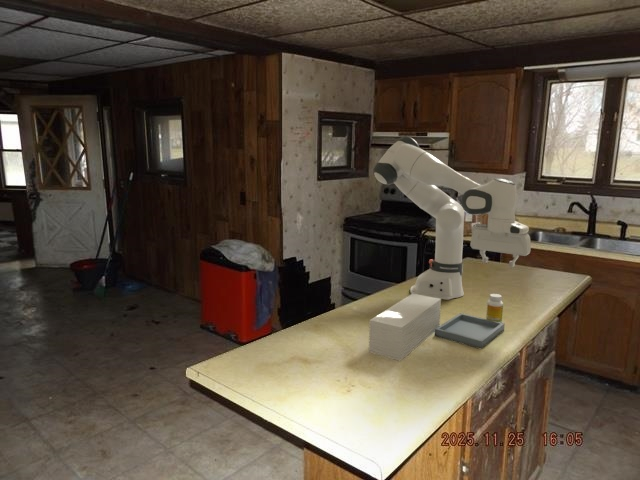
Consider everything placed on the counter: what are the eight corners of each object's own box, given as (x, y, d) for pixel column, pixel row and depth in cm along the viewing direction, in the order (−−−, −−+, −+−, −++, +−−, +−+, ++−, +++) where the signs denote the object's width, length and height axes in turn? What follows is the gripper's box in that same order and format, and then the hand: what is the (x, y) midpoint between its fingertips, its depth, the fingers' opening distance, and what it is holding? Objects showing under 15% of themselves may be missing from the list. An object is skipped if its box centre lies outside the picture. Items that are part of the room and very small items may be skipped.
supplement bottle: (502, 324, 170) (505, 298, 168) (487, 323, 171) (489, 297, 169) (500, 318, 175) (502, 293, 173) (485, 317, 176) (486, 292, 174)
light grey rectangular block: (400, 361, 141) (401, 327, 139) (368, 352, 147) (369, 319, 145) (439, 328, 167) (441, 298, 165) (411, 321, 173) (412, 293, 171)
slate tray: (481, 348, 149) (481, 341, 149) (434, 335, 160) (434, 328, 159) (504, 330, 164) (504, 323, 164) (460, 319, 175) (460, 313, 174)
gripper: (468, 223, 171) (466, 261, 173) (527, 230, 158) (524, 270, 160) (475, 221, 175) (473, 258, 178) (533, 227, 162) (530, 267, 165)
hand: (498, 264), depth 169 cm, fingers open, 8 cm apart
